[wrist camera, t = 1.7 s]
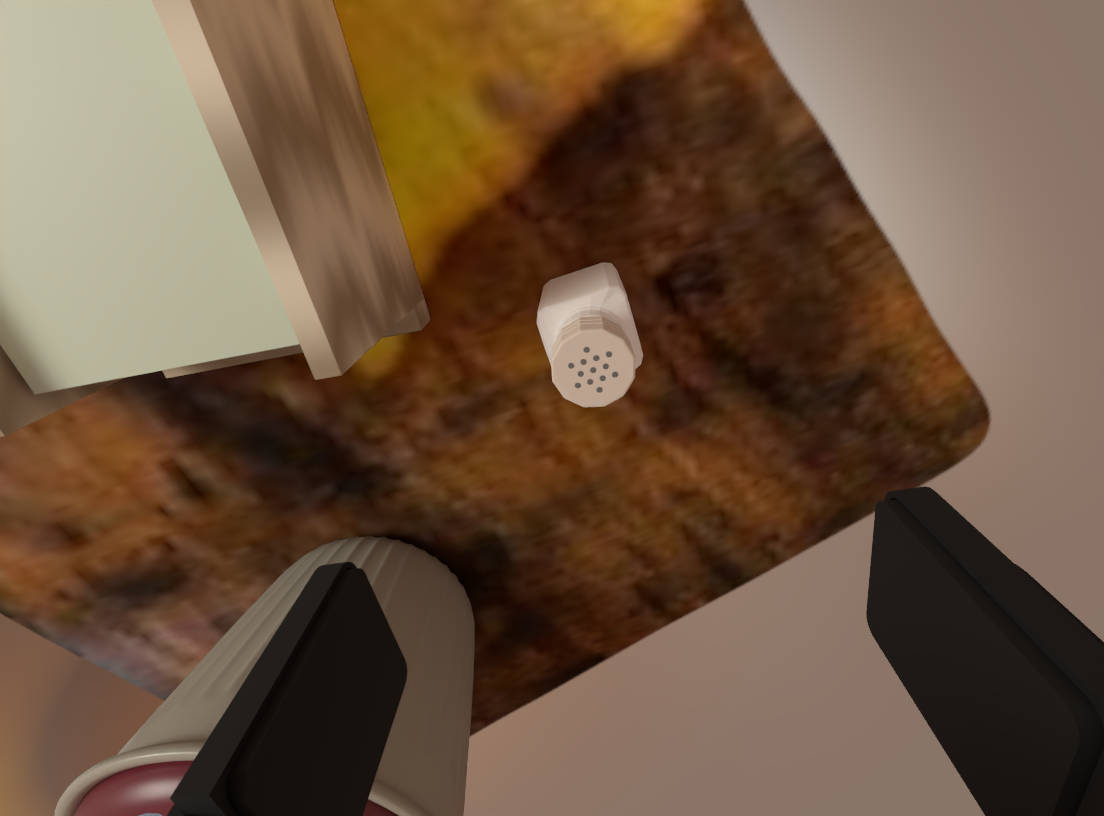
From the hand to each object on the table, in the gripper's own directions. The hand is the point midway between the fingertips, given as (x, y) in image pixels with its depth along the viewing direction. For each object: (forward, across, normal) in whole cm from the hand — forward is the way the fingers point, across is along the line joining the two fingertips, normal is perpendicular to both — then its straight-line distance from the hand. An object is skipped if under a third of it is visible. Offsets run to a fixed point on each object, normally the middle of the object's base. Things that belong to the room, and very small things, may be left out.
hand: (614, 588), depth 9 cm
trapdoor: (+13, +16, -10) cm, 23 cm away
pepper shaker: (+20, 0, 0) cm, 20 cm away
